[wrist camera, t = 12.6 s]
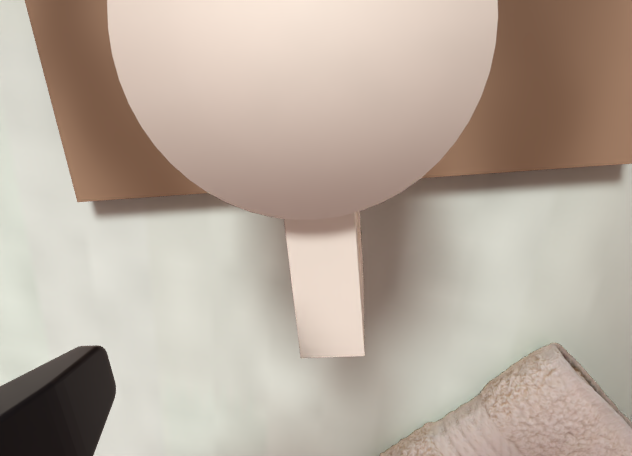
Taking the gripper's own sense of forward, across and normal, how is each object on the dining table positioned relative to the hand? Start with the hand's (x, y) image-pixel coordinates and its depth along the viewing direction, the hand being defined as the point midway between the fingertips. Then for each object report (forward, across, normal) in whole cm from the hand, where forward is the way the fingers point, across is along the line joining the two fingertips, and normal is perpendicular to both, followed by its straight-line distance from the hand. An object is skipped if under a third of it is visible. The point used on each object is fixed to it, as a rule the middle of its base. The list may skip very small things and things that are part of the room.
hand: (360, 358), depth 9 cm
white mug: (+11, +1, -3) cm, 11 cm away
